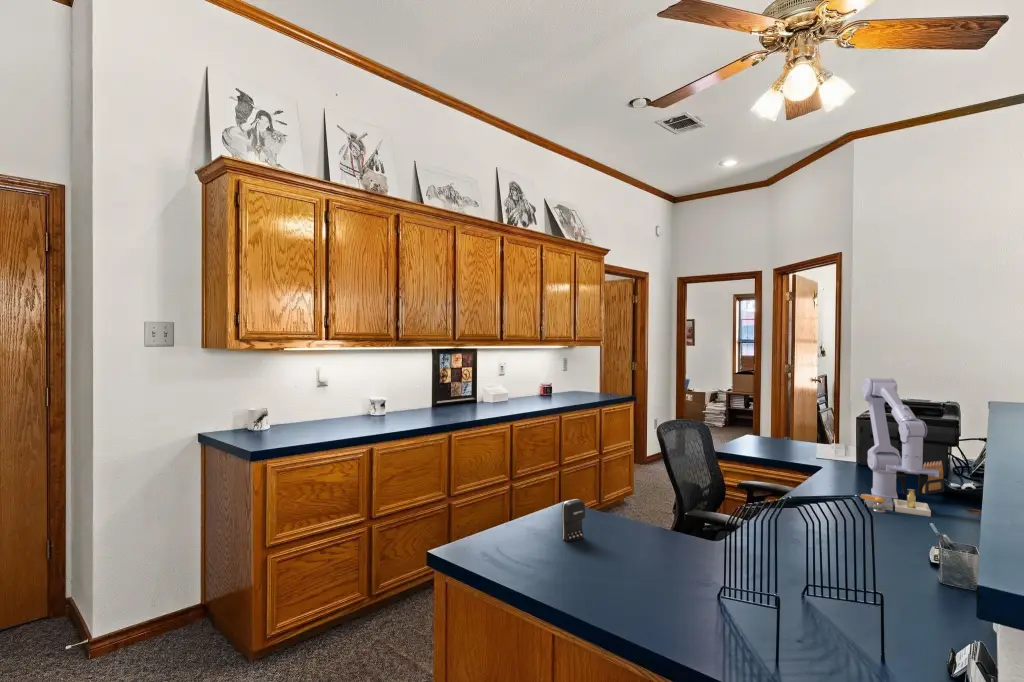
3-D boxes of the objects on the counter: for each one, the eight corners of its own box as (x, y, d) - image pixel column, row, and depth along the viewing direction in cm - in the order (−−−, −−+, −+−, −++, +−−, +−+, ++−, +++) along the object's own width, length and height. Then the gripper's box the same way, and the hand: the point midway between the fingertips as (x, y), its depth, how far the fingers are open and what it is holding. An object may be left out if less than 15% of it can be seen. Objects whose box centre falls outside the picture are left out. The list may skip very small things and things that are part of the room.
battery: (569, 543, 158) (569, 504, 158) (561, 539, 161) (561, 501, 161) (587, 538, 162) (587, 500, 161) (579, 534, 165) (579, 497, 165)
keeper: (884, 501, 186) (884, 497, 186) (882, 502, 184) (882, 499, 184) (862, 496, 191) (862, 493, 191) (860, 498, 189) (860, 495, 189)
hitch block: (864, 500, 198) (864, 491, 197) (891, 504, 193) (891, 495, 193) (865, 510, 187) (865, 501, 187) (893, 514, 182) (893, 505, 182)
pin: (906, 507, 188) (906, 488, 188) (915, 508, 187) (915, 489, 187) (907, 509, 186) (907, 490, 186) (916, 510, 185) (915, 491, 185)
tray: (893, 504, 194) (893, 499, 194) (927, 508, 189) (927, 503, 188) (895, 511, 185) (895, 506, 185) (930, 516, 180) (930, 511, 180)
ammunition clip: (925, 494, 205) (926, 463, 205) (920, 493, 207) (921, 461, 207) (944, 491, 209) (944, 460, 208) (939, 490, 210) (939, 459, 210)
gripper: (887, 455, 187) (886, 494, 187) (940, 460, 179) (939, 501, 180) (886, 451, 193) (885, 489, 193) (937, 456, 185) (936, 495, 186)
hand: (911, 494), depth 187 cm, fingers open, 3 cm apart
